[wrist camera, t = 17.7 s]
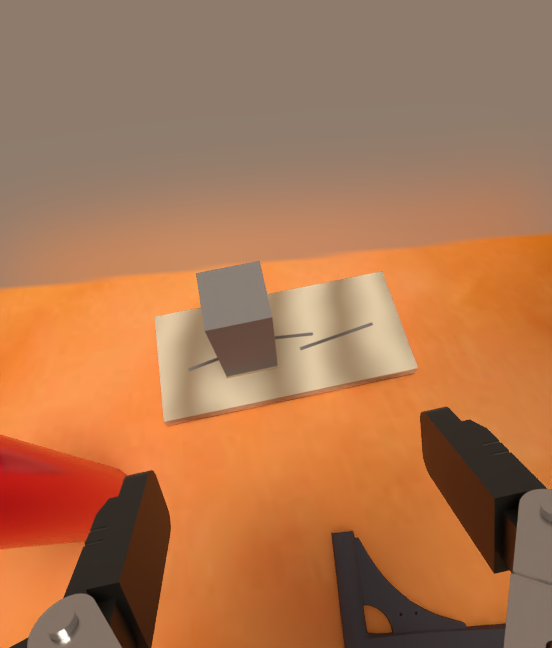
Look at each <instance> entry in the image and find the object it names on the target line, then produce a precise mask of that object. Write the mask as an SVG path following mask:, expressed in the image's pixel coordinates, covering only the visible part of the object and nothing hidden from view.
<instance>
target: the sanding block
mask: <svg viewBox="0 0 552 648" xmlns="http://www.w3.org/2000/svg"><path fill="white" fill-rule="evenodd" d="M196 276H197V283H198V289H199V296H200V303H201V310H202V317H203V323H204V330H205V333H206V335H207V337H208V339H209V341H210V343H211V345H212V347H213V349H214V351H215V354H216V356H217V358H218V360H219V362H220V364H221V366H222V368H223V370H224V372H225V374H226V378H231V377H236V376H241V375H245V374H250V373H255V372H260V371H264V370H269V369H274V368H279V366H278V362H277V354H276V345H275V337H274V328H273V319H272V314H271V309H270V305H269V300H268V296H267V292H266V287H265V283H264V278H263V274H262V270H261V265H260V261H256V262H251V263H246V264H241V265H236V266H231V267H226V268H221V269H216V270H211V271H206V272H201V273H196Z"/></svg>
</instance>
